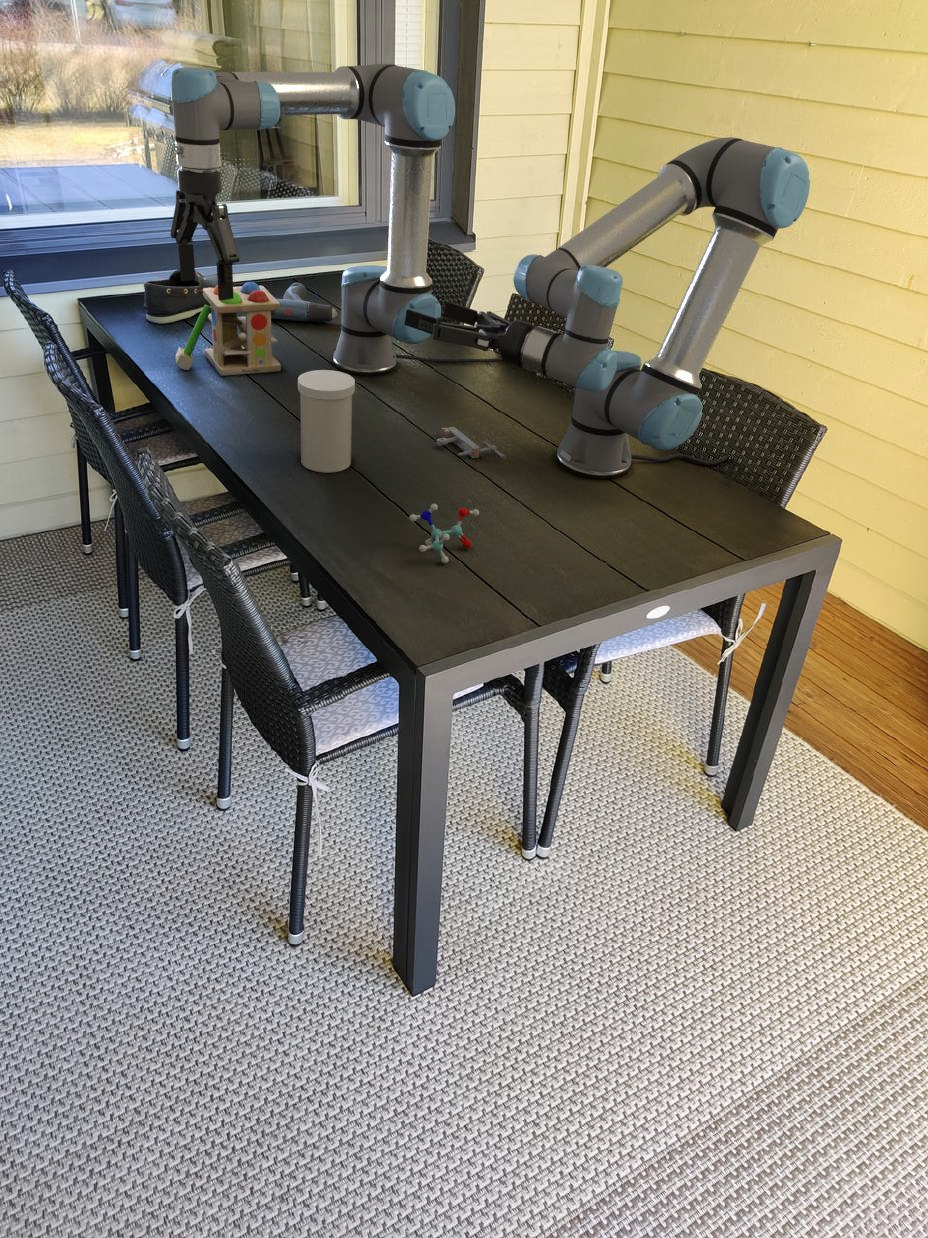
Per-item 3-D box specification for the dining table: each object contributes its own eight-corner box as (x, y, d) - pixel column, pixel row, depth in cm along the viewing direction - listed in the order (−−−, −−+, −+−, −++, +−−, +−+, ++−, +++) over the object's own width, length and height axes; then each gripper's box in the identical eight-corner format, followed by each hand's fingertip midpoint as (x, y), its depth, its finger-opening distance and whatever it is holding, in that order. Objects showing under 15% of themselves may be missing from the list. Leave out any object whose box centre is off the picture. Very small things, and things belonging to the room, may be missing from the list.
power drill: (344, 304, 276) (335, 327, 259) (277, 298, 275) (264, 321, 258) (344, 285, 273) (335, 306, 256) (277, 279, 272) (264, 300, 255)
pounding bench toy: (183, 379, 220) (176, 299, 210) (169, 357, 231) (162, 280, 221) (282, 371, 230) (280, 294, 220) (264, 350, 240) (262, 276, 230)
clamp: (428, 429, 204) (470, 423, 208) (427, 439, 205) (469, 432, 209) (464, 459, 193) (507, 451, 198) (463, 469, 194) (506, 461, 199)
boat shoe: (253, 302, 272) (251, 263, 267) (163, 325, 248) (159, 283, 243) (219, 293, 278) (216, 255, 272) (128, 316, 254) (123, 274, 248)
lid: (344, 403, 179) (344, 394, 178) (289, 394, 181) (289, 385, 180) (362, 384, 188) (362, 375, 187) (309, 375, 189) (309, 366, 188)
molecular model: (470, 557, 159) (450, 498, 158) (419, 572, 163) (399, 515, 161) (491, 545, 170) (472, 489, 168) (442, 560, 173) (424, 506, 172)
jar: (341, 476, 188) (343, 395, 179) (293, 467, 189) (292, 387, 180) (357, 455, 196) (359, 377, 187) (311, 447, 197) (310, 369, 188)
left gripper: (145, 155, 179) (155, 274, 191) (217, 183, 164) (224, 310, 176) (182, 153, 183) (190, 269, 195) (256, 180, 169) (260, 304, 181)
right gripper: (491, 379, 162) (385, 342, 169) (554, 357, 182) (456, 325, 189) (501, 334, 158) (392, 298, 166) (563, 317, 178) (463, 285, 185)
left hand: (206, 289), depth 186 cm, fingers open, 13 cm apart
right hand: (426, 312), depth 177 cm, fingers open, 13 cm apart
